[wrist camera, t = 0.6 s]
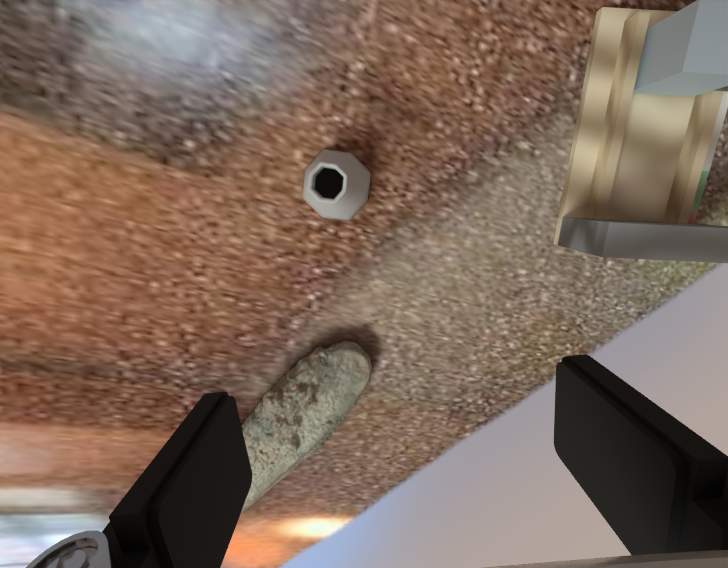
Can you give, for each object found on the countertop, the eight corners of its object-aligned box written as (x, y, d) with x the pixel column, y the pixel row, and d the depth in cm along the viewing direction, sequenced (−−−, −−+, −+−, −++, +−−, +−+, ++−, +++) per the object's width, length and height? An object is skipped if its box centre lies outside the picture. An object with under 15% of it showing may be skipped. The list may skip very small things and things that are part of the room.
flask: (382, 169, 36) (390, 160, 27) (352, 231, 38) (349, 244, 28) (319, 136, 36) (303, 115, 26) (291, 202, 37) (266, 204, 27)
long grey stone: (165, 488, 48) (225, 522, 51) (143, 525, 43) (211, 561, 46) (328, 315, 40) (391, 365, 42) (323, 337, 35) (395, 392, 37)
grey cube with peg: (642, 19, 32) (704, -19, 26) (749, 26, 32) (834, -11, 26) (626, 92, 34) (682, 71, 28) (728, 98, 34) (804, 78, 28)
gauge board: (596, 11, 33) (669, -45, 25) (742, 20, 33) (859, -34, 25) (553, 244, 38) (601, 256, 31) (678, 250, 39) (758, 264, 31)
